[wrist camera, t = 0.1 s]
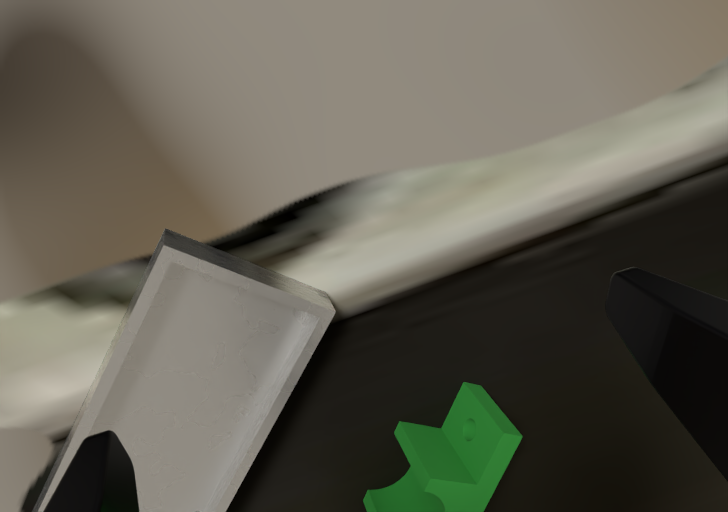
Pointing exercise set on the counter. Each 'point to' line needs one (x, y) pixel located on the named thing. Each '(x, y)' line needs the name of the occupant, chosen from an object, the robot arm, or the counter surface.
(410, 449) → the pipe clamp
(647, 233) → the counter surface
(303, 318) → the grey rectangular tray
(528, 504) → the counter surface
